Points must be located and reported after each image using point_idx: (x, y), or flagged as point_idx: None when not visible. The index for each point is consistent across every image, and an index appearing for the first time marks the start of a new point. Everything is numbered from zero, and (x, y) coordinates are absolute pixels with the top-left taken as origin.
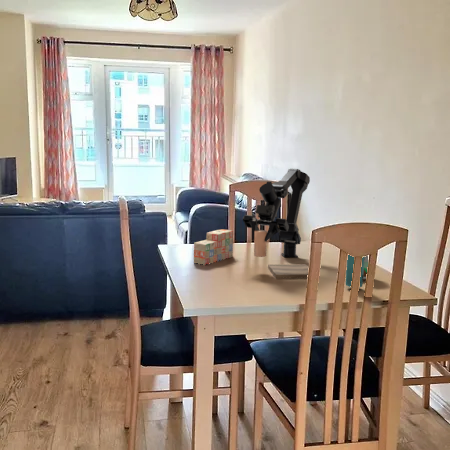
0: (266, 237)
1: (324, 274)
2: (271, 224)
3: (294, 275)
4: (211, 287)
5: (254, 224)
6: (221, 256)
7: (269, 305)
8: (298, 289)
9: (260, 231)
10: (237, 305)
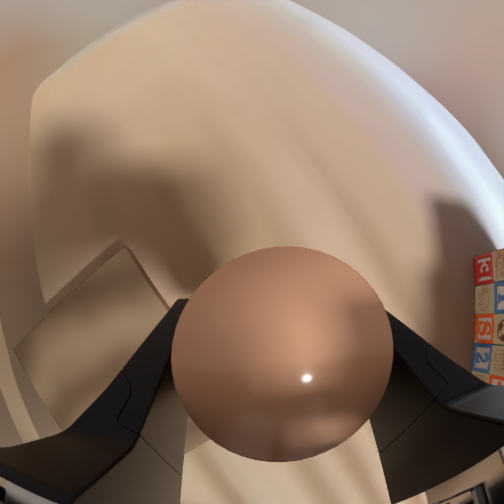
0: (166, 319)
1: (25, 411)
2: (45, 468)
3: (65, 300)
4: (285, 51)
5: (481, 405)
6: (481, 373)
7: (92, 44)
8: (36, 178)
9: (283, 343)
10: (156, 12)
